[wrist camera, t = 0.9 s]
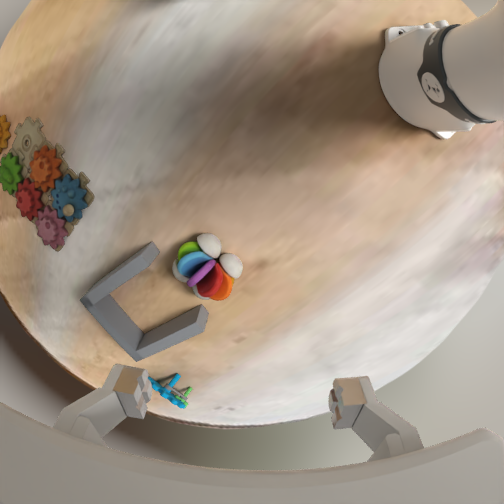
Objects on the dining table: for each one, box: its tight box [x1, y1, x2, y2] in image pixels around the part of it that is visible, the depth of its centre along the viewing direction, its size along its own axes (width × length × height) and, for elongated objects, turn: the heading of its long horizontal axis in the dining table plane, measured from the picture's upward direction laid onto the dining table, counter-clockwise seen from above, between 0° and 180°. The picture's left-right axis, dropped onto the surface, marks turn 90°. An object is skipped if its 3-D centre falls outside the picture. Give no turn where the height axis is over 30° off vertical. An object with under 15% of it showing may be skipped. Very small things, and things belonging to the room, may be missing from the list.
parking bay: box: [80, 241, 209, 362], centre depth 45 cm, size 16×15×5 cm
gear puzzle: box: [0, 115, 94, 251], centre depth 36 cm, size 31×16×4 cm, turn 41°
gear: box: [148, 374, 192, 409], centre depth 53 cm, size 11×6×10 cm
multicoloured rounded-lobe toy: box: [172, 233, 243, 301], centre depth 40 cm, size 8×10×7 cm
